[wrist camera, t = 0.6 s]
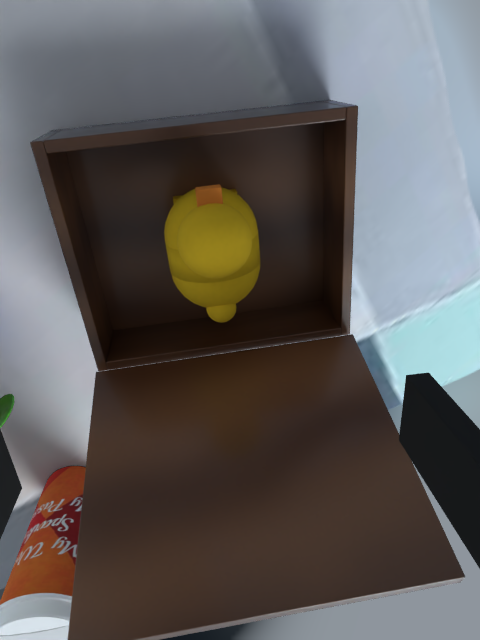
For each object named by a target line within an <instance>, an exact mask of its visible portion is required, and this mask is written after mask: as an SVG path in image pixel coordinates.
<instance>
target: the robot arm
mask: <svg viewBox="0 0 480 640" xmlns="http://www.w3.org/2000/svg"><path fill="white" fill-rule="evenodd" d="M399 441H400V443H401V445H402V446H403V448H404V449H405V451H406V453H407V454H408V456H409V457H410V459H411V460H412V462H413V464H414V465H415V467H416V468H417V470H418V472H419V473H420V475H421V476H422V478H423V479H424V481H425V483H426V484H427V486H428V487H429V489H430V491H431V492H432V494H433V495H434V497H435V499H436V500H437V502H438V503H439V505H440V506H441V508H442V509H443V511H444V513H445V514H446V516H447V518H448V519H449V521H450V522H451V524H452V525H453V527H454V529H455V530H456V532H457V533H458V535H459V536H460V538H461V540H462V541H463V543H464V544H465V546H466V547H467V549H468V551H469V552H470V554H471V556H472V557H473V559H474V560H475V562H476V563H477V565H478V566H479V568H480V429H479V428H478V427H477V426H476V425H475V424H474V423H473V421H472V420H471V419H470V418H469V417H468V416H467V415H466V414H465V413H464V411H463V410H462V409H461V408H460V407H459V406H458V405H457V404H456V403H455V402H454V400H453V399H452V398H451V397H450V396H449V395H448V394H447V393H446V391H445V390H444V389H443V388H442V387H441V386H440V385H439V384H438V383H437V381H436V380H435V379H434V378H433V377H432V376H431V375H430V374H429V373H422V374H413V375H406V383H405V391H404V400H403V410H402V418H401V427H400V435H399ZM21 489H22V486H21V484H20V481H19V478H18V476H17V473H16V470H15V468H14V465H13V462H12V459H11V457H10V454H9V451H8V449H7V446H6V443H5V440H4V438H3V435H2V432H1V430H0V539H1V536H2V534H3V532H4V529H5V527H6V525H7V522H8V520H9V517H10V515H11V513H12V510H13V508H14V506H15V503H16V501H17V499H18V496H19V494H20V492H21Z"/></svg>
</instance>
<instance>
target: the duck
mask: <svg viewBox="0 0 480 640" xmlns="http://www.w3.org/2000/svg"><path fill="white" fill-rule="evenodd" d="M173 203H174V205H173V207H172V208H171V210H170V211H169V214H168V217H167V220H166V222H165V230H164V235H165V244H166V250H167V255H168V261H169V267H170V272H171V275H172V278H173V281H174V283H175V285H176V287H177V288H178V290H179V291H180V292H181V293H182V294H183V296H184V297H186V298H187V299H188V300H190V301H191V302H193V303H194V304H197V305H199V306H202V307H205V308H206V310H207V313H208V315H209V317H210V318H211V319H212V320H214V321H216V322H221V323H222V322H227V321H229V320H230V319H232V318H233V316H234V315H235V313H236V303H238V302H239V301H241V300H242V299H243V298H245V297H246V296H247V295H248V294H249V292H250V291H251V290H252V289H253V287H254V285H255V283H256V281H257V279H258V275H259V271H260V249H259V235H258V228H257V222H256V219H255V216H254V214H253V211H252V210H251V208H250V207H249V205H248V204H247V203H246V202H245V201H244V200H243V199H242V198H241V197H240V196H239V195H237V191H236V189H230V190H228V189H225V188H223V187H221V185H220V184H218V185H210V186H201V187H195V189H193V190H191V191H189V192H187V193H186V194H184V195H181V196H173Z"/></svg>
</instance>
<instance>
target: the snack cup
mask: <svg viewBox="0 0 480 640" xmlns="http://www.w3.org/2000/svg"><path fill="white" fill-rule="evenodd" d="M13 405H14V396H13V395H12V394H7V395H5V396H3V397H2V398H1V399H0V428H1V427H2V425H3V424H4V423H5V422H6V420H7V418H8V417H9V415H10V413H11V411H12V408H13Z"/></svg>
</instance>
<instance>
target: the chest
mask: <svg viewBox="0 0 480 640" xmlns="http://www.w3.org/2000/svg"><path fill="white" fill-rule="evenodd" d="M357 119H358V106H356V105H352V104H347V103H342V102H337V101H333V100H326V101H316V102H307V103H298V104H289V105H280V106H271V107H262V108H253V109H243V110H234V111H225V112H216V113H207V114H198V115H189V116H180V117H170V118H161V119H152V120H143V121H134V122H125V123H116V124H107V125H97V126H88V127H79V128H70V129H61V130H52V131H50V132H49V133H47V134H45V135H43V136H41V137H39V138H37V139H35V140H33V141H32V142H30V144H31V147H32V150H33V154H34V157H35V161H36V164H37V167H38V171H39V174H40V177H41V181H42V184H43V187H44V191H45V194H46V197H47V201H48V204H49V207H50V211H51V214H52V217H53V221H54V224H55V228H56V231H57V234H58V238H59V241H60V244H61V248H62V251H63V254H64V258H65V261H66V264H67V268H68V271H69V274H70V278H71V281H72V284H73V288H74V291H75V294H76V298H77V301H78V305H79V308H80V311H81V315H82V318H83V321H84V325H85V328H86V331H87V335H88V338H89V341H90V345H91V348H92V351H93V355H94V358H95V361H96V365H97V368H98V371H104V370H111V369H118V368H125V367H132V366H138V365H145V364H152V363H159V362H166V361H172V360H179V359H186V358H193V357H200V356H207V355H213V354H220V353H227V352H234V351H241V350H247V349H254V348H261V347H268V346H275V345H281V344H288V343H295V342H302V341H309V340H315V339H322V338H329V337H336V336H340V335H348V334H350V312H351V284H352V257H353V229H354V201H355V174H356V146H357ZM218 184H220V185H221V187H223V188H225V189H228V190H230V189H236V191H237V195H239V196H240V197H241V198H242V199H243V200H244V201H245V202H246V203H247V204H248V205H249V207H250V208H251V210H252V211H253V214H254V216H255V219H256V222H257V228H258V235H259V249H260V271H259V275H258V279H257V281H256V283H255V285H254V287H253V289H252V290H251V291H250V292H249V294H248V295H247V296H246V297H245V298H243V299H242V300H241V301H239V302H238V303H236V313H235V315H234V316H233V318H232V319H230V320H229V321H227V322H222V323H221V322H216V321H214V320H212V319H211V318H210V317H209V315H208V313H207V310H206V308H205V307H202V306H199V305H197V304H194V303H193V302H191V301H190V300H188V299H187V298H186V297H184V296H183V294H182V293H181V292H180V291H179V290H178V288H177V287H176V285H175V283H174V281H173V278H172V275H171V272H170V267H169V261H168V255H167V250H166V244H165V235H164V230H165V222H166V220H167V217H168V214H169V211H170V210H171V208H172V207H173V205H174V203H173V196H181V195H184V194H186V193H187V192H189V191H191V190H193V189H195V187H201V186H210V185H218Z"/></svg>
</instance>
